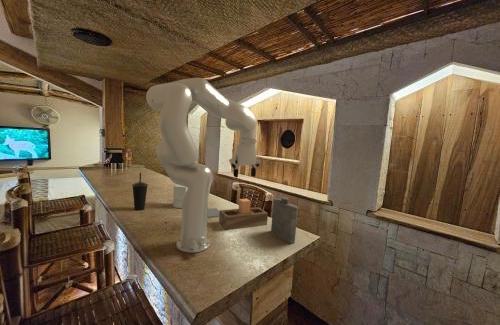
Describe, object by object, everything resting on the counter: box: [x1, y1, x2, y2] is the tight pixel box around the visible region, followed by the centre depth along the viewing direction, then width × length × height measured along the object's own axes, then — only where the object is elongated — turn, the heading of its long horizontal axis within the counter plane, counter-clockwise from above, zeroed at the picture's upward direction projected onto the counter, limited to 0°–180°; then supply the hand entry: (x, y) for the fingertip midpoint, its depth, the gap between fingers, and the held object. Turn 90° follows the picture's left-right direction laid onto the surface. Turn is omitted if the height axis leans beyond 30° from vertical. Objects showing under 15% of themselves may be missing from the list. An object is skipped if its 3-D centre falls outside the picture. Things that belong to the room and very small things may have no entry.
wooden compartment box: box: [218, 206, 269, 231], centre depth 110 cm, size 10×22×6 cm, turn 117°
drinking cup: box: [131, 172, 149, 212], centre depth 118 cm, size 8×8×20 cm
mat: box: [207, 207, 220, 219], centre depth 121 cm, size 12×12×1 cm
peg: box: [238, 198, 252, 214], centre depth 110 cm, size 4×4×10 cm
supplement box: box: [172, 184, 187, 209], centre depth 129 cm, size 7×7×13 cm
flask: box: [270, 196, 299, 245], centre depth 98 cm, size 4×14×18 cm, turn 34°
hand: (244, 176), depth 109 cm, fingers open, 9 cm apart
